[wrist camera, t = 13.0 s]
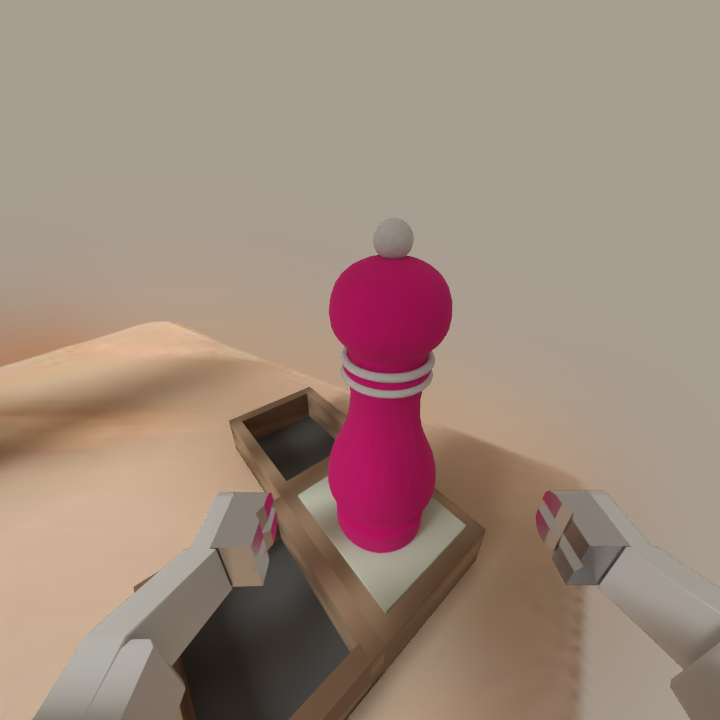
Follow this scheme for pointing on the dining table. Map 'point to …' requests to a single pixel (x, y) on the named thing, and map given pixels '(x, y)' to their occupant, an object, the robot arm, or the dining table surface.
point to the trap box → (315, 586)
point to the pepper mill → (386, 389)
